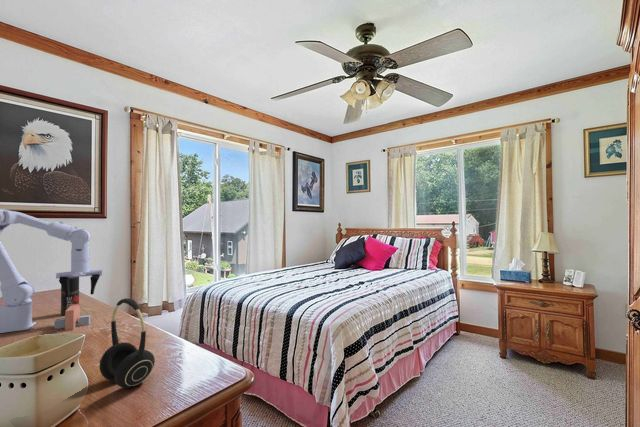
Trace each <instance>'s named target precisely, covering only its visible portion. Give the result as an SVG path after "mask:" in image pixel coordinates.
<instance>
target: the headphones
mask: <svg viewBox="0 0 640 427" xmlns="http://www.w3.org/2000/svg"><path fill="white" fill-rule="evenodd" d="M122 304H127V305H129V306H130V307H131V308H132V309H133V310H135V311H136V313H137V315H138V318H139V320H140V325H141V331H140V342H139V346H138V349H137V347H136V346H135V345H134V344H131V343H129V342H126V341H125V342H120V341H119V335H118V332H117V321H116V314H117V311H118V309H119V307H120V306H121V305H122ZM139 306H140V305H139V304H138V303H137V301H135V300H134V299H133V298H123V299H120V300H119V301H118V302H116V306H115V307H114V309H113V312H112V315H111V321H110V322H111V323H110V326H111V329H110V332H111V342H112V343H111V344H112V345H111V346H109V348H108V349H106V350H105V351H104V353H103V354H102V356H101V358H100V360H99V372H100V374H101V375H102V377H103V378H104V379H106V380H108V381H110V382H115V383H116V384H115V385H117V386H119V387H120V388H123V389H127V388H126V387H129V388H132V387H131V386H133V387H135V386H137V385H140V384H141V383H143V382H144V381H145V380H146V379H147V378H149V376H150V374H151V372H152V371H153V369H154V366H155V361H156V359H155V356H154V354H153V353H152V352H151V351H150V350H147V349H146V341H147V340H146V338H147V334H146V333H147V331H146V325H145V320H144V317H143V314H142V311H140V307H139Z"/></svg>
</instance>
